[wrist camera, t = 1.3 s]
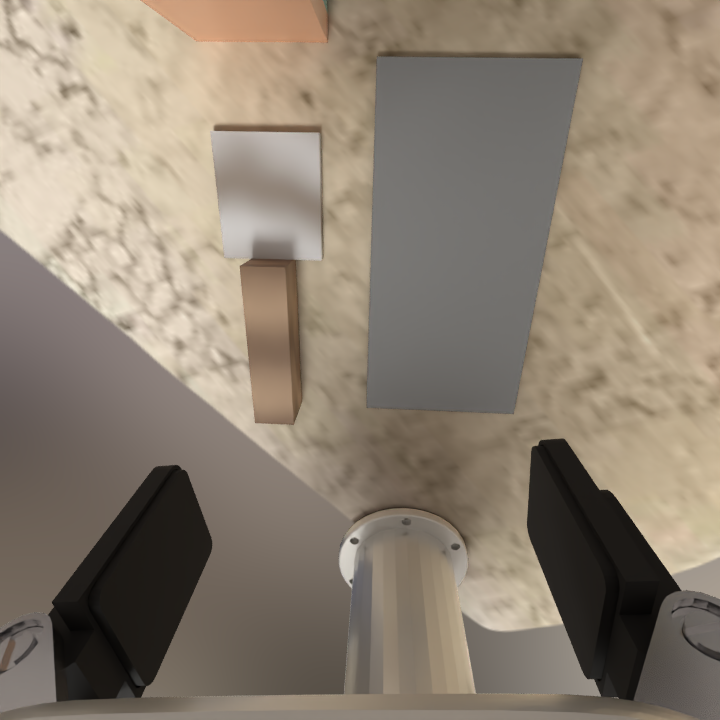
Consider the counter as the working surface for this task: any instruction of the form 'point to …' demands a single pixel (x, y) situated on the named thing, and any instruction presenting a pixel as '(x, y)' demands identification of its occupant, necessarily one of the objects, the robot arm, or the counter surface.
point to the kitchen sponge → (247, 19)
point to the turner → (270, 250)
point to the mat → (461, 224)
